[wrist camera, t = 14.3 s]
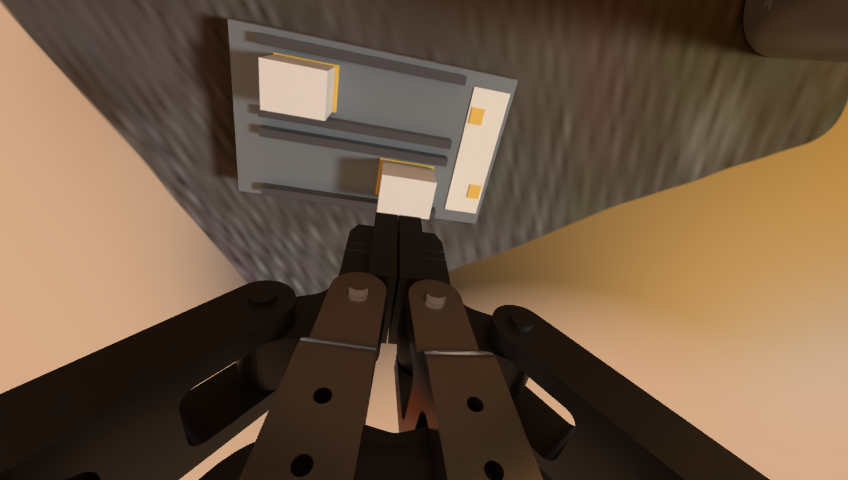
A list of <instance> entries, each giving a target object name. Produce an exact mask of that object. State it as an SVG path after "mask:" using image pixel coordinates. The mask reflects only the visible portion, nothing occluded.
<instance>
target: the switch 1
mask: <svg viewBox="0 0 848 480" xmlns="http://www.w3.org/2000/svg"><path fill="white" fill-rule="evenodd" d="M258 59H259V91H260V110H265V111H270V112H276V113H282V114H287V115H293V116H299V117H305V118H310V119H316V120H322V121H325V120H326V119H327V118H328V116H329V115H330V114H331V112H332V107H333V91H334V76H335V66H330V65H325V64H320V63H315V62H310V61H305V60H300V59H295V58H290V57H285V56H280V55H275V54H274V55H268V56H263V57H258Z"/></svg>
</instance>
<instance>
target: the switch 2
mask: <svg viewBox="0 0 848 480" xmlns="http://www.w3.org/2000/svg"><path fill="white" fill-rule="evenodd" d="M436 185H437V181H436V178H435V175H434V172H433V168H428V167H422V166H416V165H410V164H404V163H397V162H391V161H385V160H383V164H382V171H381V178H380V186H379V193H378V203H377V212H380V213H388V214H396V215H404V216H412V217H419V218H421V219H429V217H430V212H431V208H432V203H433V199H434V194H435V190H436Z"/></svg>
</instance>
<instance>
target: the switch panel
mask: <svg viewBox="0 0 848 480" xmlns="http://www.w3.org/2000/svg"><path fill="white" fill-rule="evenodd" d="M228 33H229V48H230V63H231V79H232V94H233V109H234V124H235V139H236V155H237V170H238V185H239V191H245V192H252V193H260V194H261V195H268V196H275V197H282V198H289V199H297V200H304V201H311V202H318V203H325V204H333V205H340V206H347V207H354V208H361V209H369V210H376V211H377V203H378V193H379V186H380V178H381V171H382V164H383V160H385V161H391V162H397V163H404V164H410V165H416V166H422V167H428V168H433V172H434V175H435V178H436V181H437V185H436V190H435V194H434V199H433V203H432V208H431V212H430V217H429V218H439V219H446V220H454V221H461V222H468V223H475V224H476V221H477V218H478V214H479V211H480V207H481V204H482V201H483V197H484V194H485V191H486V187H487V184H488V180H489V177H490V174H491V170H492V167H493V163H494V160H495V157H496V153H497V150H498V147H499V143H500V140H501V136H502V133H503V130H504V126H505V123H506V119H507V116H508V113H509V109H510V106H511V102H512V99H513V96H514V92H515V89H516V86H517V82H518V80H516V79H513V78H511V77H508V76H504V75H500V74H495V73H490V72H485V71H481V70H476V69H471V68H467V67H462V66H457V65H453V64H448V63H443V62H438V61H434V60H429V59H424V58H420V57H415V56H410V55H405V54H401V53H396V52H391V51H387V50H382V49H377V48H373V47H368V46H363V45H358V44H354V43H349V42H344V41H340V40H335V39H330V38H326V37H321V36H316V35H311V34H307V33H302V32H297V31H293V30H288V29H283V28H279V27H274V26H269V25H264V24H260V23H255V22H250V21H246V20H236V19H228ZM274 54H275V55H280V56H285V57H290V58H295V59H300V60H305V61H310V62H315V63H320V64H325V65H330V66H335V76H334V91H333V107H332V112H331V114H330V115H329V116H328V118H327V119H326V120H325V121H322V120H316V119H310V118H305V117H299V116H293V115H287V114H282V113H276V112H270V111H265V110H260V91H259V59H258V57H263V56H268V55H274Z"/></svg>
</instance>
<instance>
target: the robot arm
mask: <svg viewBox="0 0 848 480" xmlns="http://www.w3.org/2000/svg"><path fill="white" fill-rule="evenodd" d="M743 25H744V33H745V36H746V39H747V41H748V43H749V44H750V46H751V47H752V48H753V50H754V51H756V52H758V53H759V54H761V55H763V56H767V57H771V58H785V59H800V60H815V61H827V62H843V63H848V0H746V3H745V6H744V16H743ZM388 328H389V338H388V339H389V341H388V343H391V344H397V355H396V360H395V365H394V372H395V386H396V399H397V412H398V425H399V433H391V432H387V431H384V430H380V429H377V428H374V427H371V426H367V425H365V424H366V417H367V411H368V406H369V400H370V394H371V388H372V382H373V376H374V370H375V363H376V361H377V360H378V357H379V353H380V347H381V343H386V340H387V333H388ZM234 362H236V363H234ZM232 363H234V364H233V365H231V364H232ZM229 365H231V366H229ZM227 366H229V367H228V368H226V367H227ZM224 368H226V369H224ZM222 369H224V370H223V371H221V370H222ZM219 371H221V372H219ZM217 372H219V373H218V374H216V373H217ZM214 374H216V375H215V376H213V377H211V376H212V375H214ZM209 377H211V378H210V379H208V378H209ZM529 377H530V378H531V379H532V380H533V381H534V382H536V383H537V384H538V385H539V386H540V387H541V388H543V389H544V390H545V391H546V392H547V393H549V394H550V395H551V396H552V397H553V398H555V399H556V400H557V401H558V402H559V403H560V404H562V405H563V406H564V407H565V408H566V409H567V410H568V411H569V412H570V413H571V415H572V416H573V418H574V421H575V426H573V425H571V424H569V423H568V422H567V421H565V420H564V419H563V418H562V417H561V416H560V415H558V414H557V413H556V412H555V411H554V410H553V409H552V408H550V407H549V406H548V405H547V404H546V403H545V402H544V401H542V400H541V399H540V398H539V397H538V396H537V395H535V394H534V393H533V392H532V391H531V390H530V389H528V388H527V387H526V386H525V385H526V382H527V380H528V378H529ZM206 379H208V380H206ZM204 380H206V381H205V382H203V383H202V384H200V385H199V386H197V387H195V386H196V385H198V384H199V383H201V382H202V381H204ZM193 387H195V388H193ZM192 388H193V389H192ZM191 389H192V390H191ZM268 410H269V411H268ZM267 411H268V414H267V416H266V418H265V420H264V423H263V425H262V428H261V430H260V432H259V435H258V437H257V439H256V441H255V442H254V443H251V444H249V445H247V446H245V447H243V448H242V449H240V450H238V451H236V452H234V453H233V454H231V455H230V456H229V457H227V458H225V459H224V460H223V461H221V462H220V463H218V464H217V465H216V466H214V467H213V468H212V469H211V470H209V472H207V473H206V474H205V475H204V476H203V477H201V478H200V479H199V480H769V479H768V478H766V477H765V476H764V475H762V474H761V473H759V472H758V471H757V470H755V469H754V468H753V467H751V466H750V465H748V464H747V463H745V462H744V461H742V460H741V459H740V458H738V457H737V456H736V455H734V454H733V453H731V452H730V451H728V450H727V449H726V448H724V447H723V446H721V445H720V444H719V443H717V442H716V441H714V440H713V439H712V438H710V437H708V436H707V435H706V434H704V433H703V432H702V431H700V430H699V429H697V428H696V427H695V426H693V425H692V424H690V423H689V422H687V421H686V420H685V419H683V418H682V417H680V416H679V415H678V414H676V413H675V412H673V411H672V410H671V409H669V408H668V407H666V406H665V405H663V404H662V403H661V402H659V401H658V400H656V399H655V398H654V397H652V396H651V395H649V394H648V393H647V392H645V391H644V390H642V389H641V388H639V387H638V386H637V385H635V384H634V383H632V382H631V381H630V380H628V379H627V378H625V377H624V376H622V375H621V374H620V373H618V372H617V371H615V370H614V369H613V368H611V367H610V366H608V365H607V364H606V363H604V362H603V361H601V360H600V359H598V358H597V357H595V356H594V355H593V354H591V353H590V352H589V351H587V350H586V349H584V348H583V347H581V346H580V345H579V344H577V343H576V342H575V341H573V340H572V339H570V338H569V337H567V336H566V335H565V334H563V333H562V332H560V331H559V330H558V329H556V328H555V327H553V326H552V325H551V324H549V323H548V322H546V321H545V320H543V319H542V318H541V317H539V316H538V315H536V314H535V313H533V312H532V311H530V310H528V309H526V308H523V307H520V306H515V305H504V306H500V307H498V308H497V309H496V310H495V311H494V313H493V315H492V316H491V315H488V314H485V313H482V312H479V311H476V310H474V309H471V308H469V307H467V306H465V305H464V304H463V302H462V298H461V296H460V294H459V293H458V291H457V290H456V289H455V288H453V287H452V286H451V285H450V280H449V275H448V270H447V265H446V261H445V255H444V250H443V245H442V242H441V241H440V240H439V238H438V237H437V236H436V235H435V234H433V233H425V232H422V224H421V218H419V217H412V216H404V215H399V218H398V215H396V214H388V213H380V212H376V217H375V224H374V226H368V225H359V224H358V225H357V226H356V227H355V228H353V229H352V230H351V231H350V233H349V237H348V242H347V245H346V250H345V253H344V257H343V261H342V265H341V269H340V273H339V276H338V277H336V278H335V279H334V280H333V281H332V283H331V284H330V287H329V289H328V290H326V291H323V292H321V293H317V294H313V295H306V296H298V297H296V294H295V292H294V290H293V289H292V288H291V287H290V286H288V285H286V284H284V283H281V282H278V281H268V280H265V281H257V282H252V283H249V284H246V285H244V286H241V287H239V288H237V289H235V290H233V291H230V292H228V293H226V294H224V295H221V296H219V297H217V298H215V299H212V300H210V301H208V302H206V303H203V304H201V305H199V306H197V307H195V308H192V309H190V310H188V311H186V312H183V313H181V314H179V315H177V316H175V317H172V318H170V319H168V320H165V321H163V322H161V323H159V324H156V325H154V326H152V327H150V328H148V329H145V330H143V331H141V332H139V333H136V334H134V335H132V336H130V337H128V338H125V339H123V340H121V341H118V342H116V343H114V344H112V345H109V346H107V347H105V348H103V349H100V350H98V351H96V352H94V353H91V354H89V355H87V356H85V357H82V358H80V359H78V360H76V361H74V362H71V363H69V364H67V365H65V366H62V367H60V368H58V369H56V370H53V371H51V372H49V373H47V374H44V375H42V376H40V377H38V378H36V379H33V380H31V381H29V382H27V383H24V384H22V385H20V386H18V387H15V388H13V389H11V390H9V391H6V392H5V393H2V394H0V480H179V479H180V478H181V477H183V476H184V475H185V474H187V473H188V472H189V471H191V470H192V469H193V468H194V467H196V466H197V465H198V464H199V463H201V462H202V461H203V460H205V459H206V458H207V457H209V456H210V455H211V454H213V453H214V452H215V451H216V450H217V449H219V448H220V447H222V446H223V445H224V444H225V443H227V442H228V441H229V440H231V439H232V438H233V437H235V436H236V435H237V434H238V433H240V432H241V431H242V430H243V429H245V428H246V427H247V426H249V425H250V424H251V423H253V422H254V421H255V420H257V419H258V418H259V417H260V416H262V415H263V414H264V413H266V412H267Z"/></svg>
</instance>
